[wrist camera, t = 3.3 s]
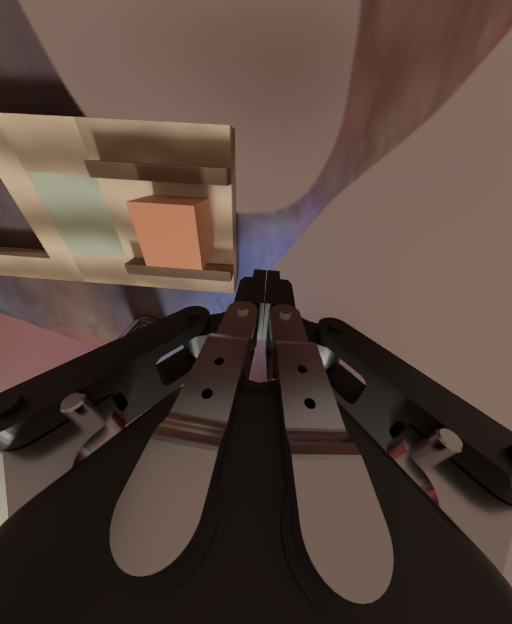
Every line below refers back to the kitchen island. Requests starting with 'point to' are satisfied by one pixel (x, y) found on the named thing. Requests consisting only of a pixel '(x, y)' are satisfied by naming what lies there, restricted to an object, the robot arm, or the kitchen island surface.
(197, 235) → the block
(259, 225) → the kitchen island surface
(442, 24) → the kitchen island surface
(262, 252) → the kitchen island surface
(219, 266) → the wooden fixture board
